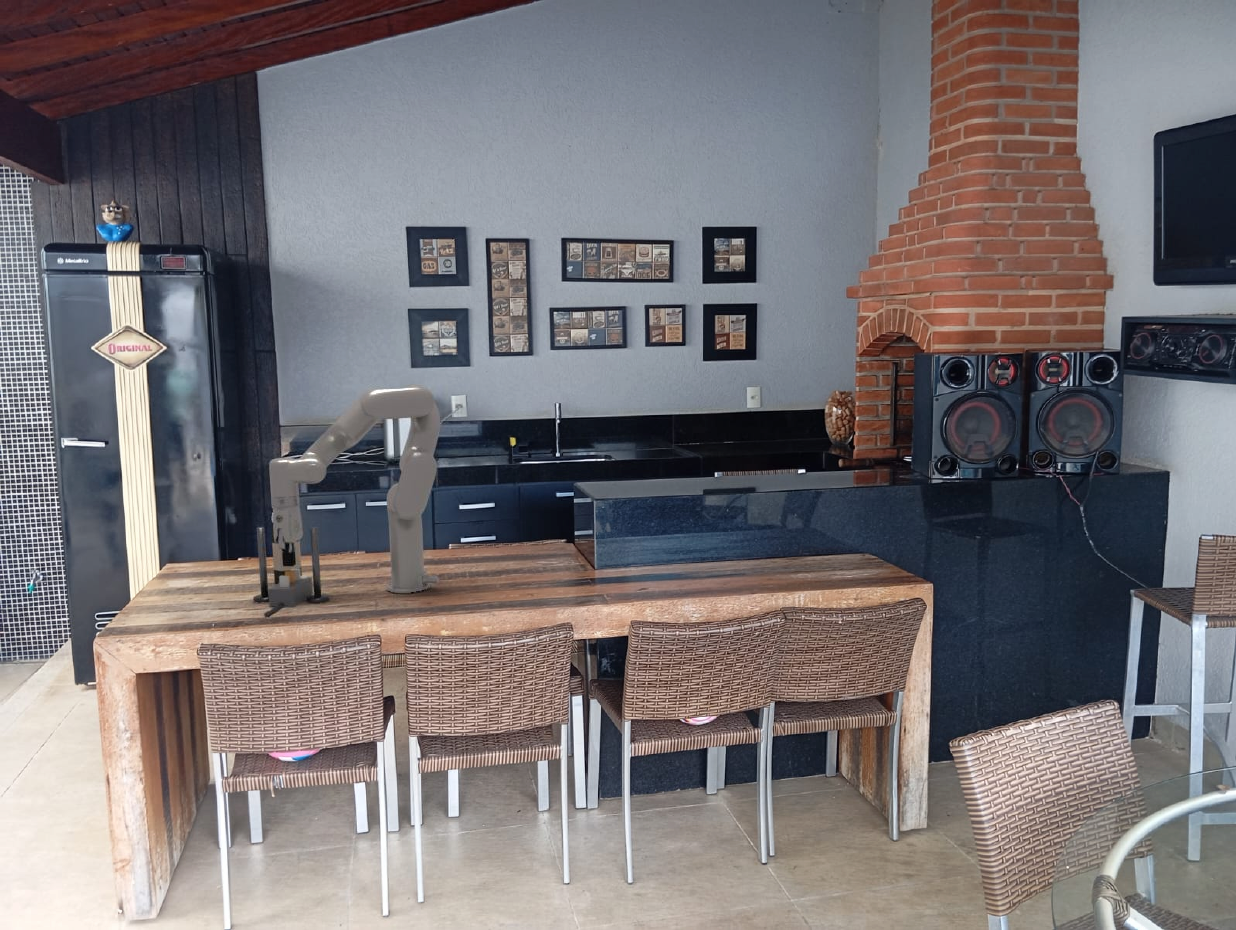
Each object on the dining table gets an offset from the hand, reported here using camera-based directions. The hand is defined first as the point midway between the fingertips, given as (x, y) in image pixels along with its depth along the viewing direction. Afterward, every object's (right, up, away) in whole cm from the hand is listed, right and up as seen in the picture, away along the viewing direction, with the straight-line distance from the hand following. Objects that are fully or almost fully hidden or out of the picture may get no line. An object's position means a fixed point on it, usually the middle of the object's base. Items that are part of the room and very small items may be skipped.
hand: (289, 565), depth 306 cm
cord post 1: (-8, -10, +2) cm, 13 cm away
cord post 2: (+8, -10, +1) cm, 13 cm away
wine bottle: (-8, -7, +24) cm, 26 cm away
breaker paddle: (0, -5, +1) cm, 5 cm away
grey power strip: (0, -11, -3) cm, 11 cm away
